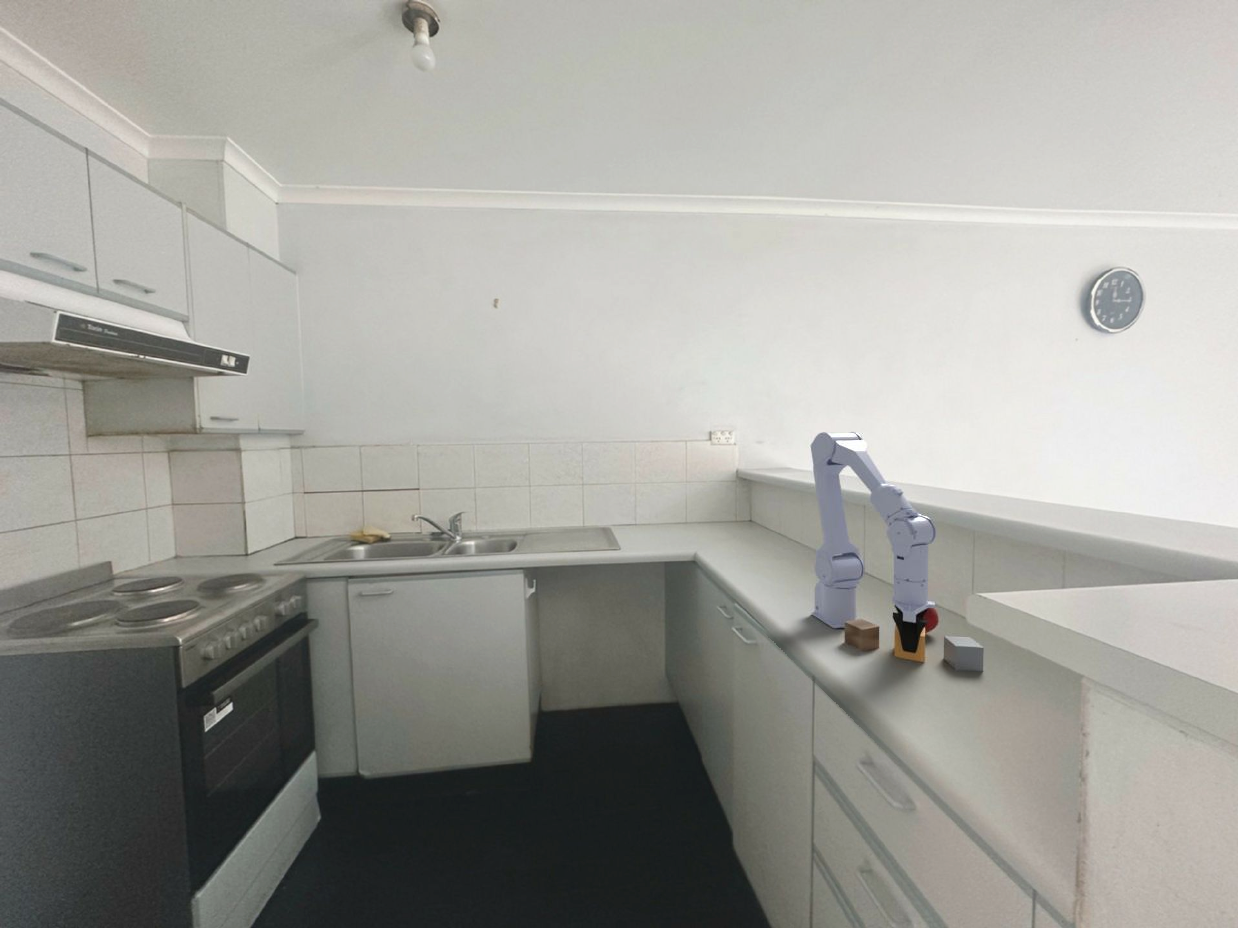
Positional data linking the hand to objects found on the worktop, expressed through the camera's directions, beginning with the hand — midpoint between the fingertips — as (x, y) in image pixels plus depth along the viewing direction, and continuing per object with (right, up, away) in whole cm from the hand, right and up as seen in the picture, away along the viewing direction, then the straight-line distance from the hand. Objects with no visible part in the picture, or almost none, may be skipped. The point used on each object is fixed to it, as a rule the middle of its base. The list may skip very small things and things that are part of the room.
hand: (909, 646), depth 93 cm
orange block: (0, -2, 0) cm, 2 cm away
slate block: (+7, -2, -4) cm, 9 cm away
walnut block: (-7, -2, +5) cm, 9 cm away
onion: (+9, -1, +10) cm, 13 cm away
